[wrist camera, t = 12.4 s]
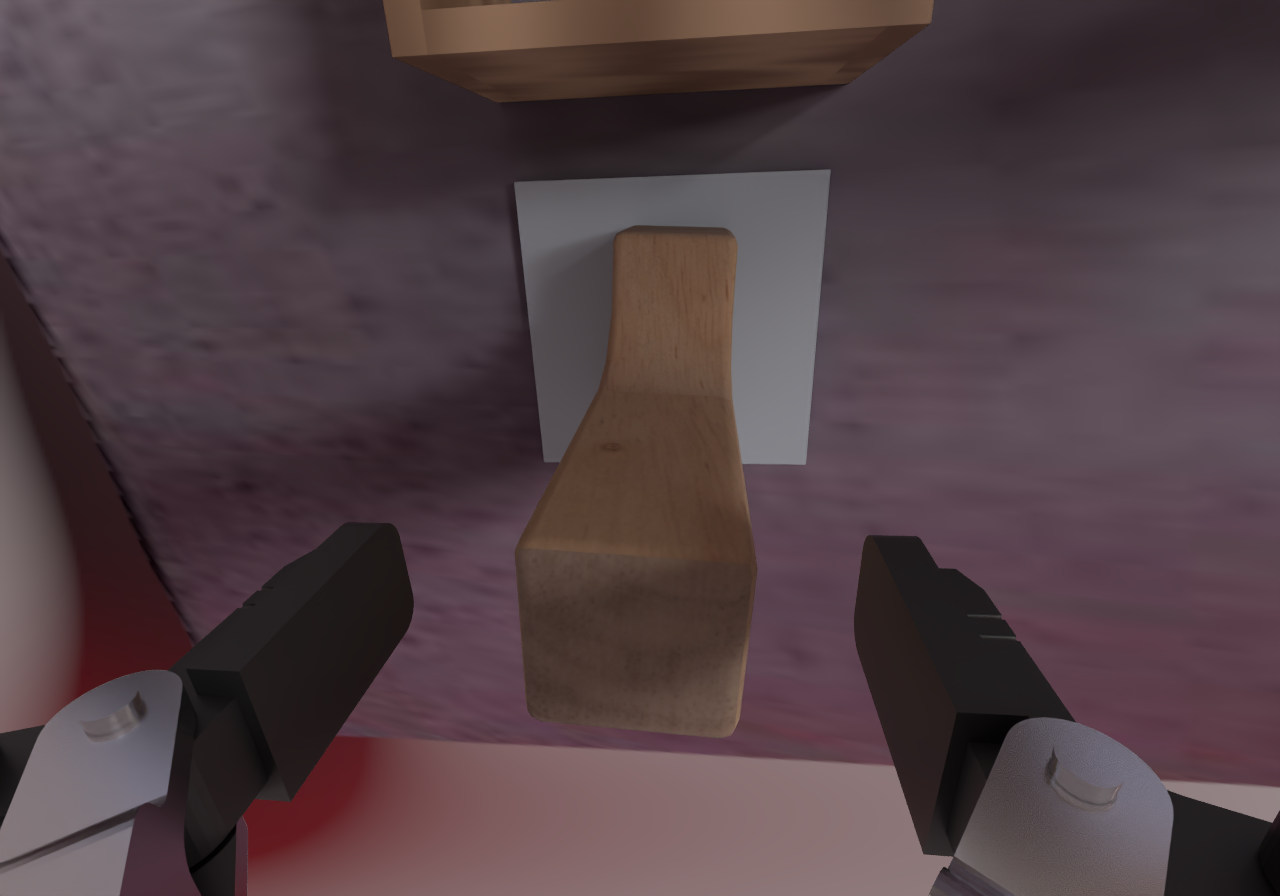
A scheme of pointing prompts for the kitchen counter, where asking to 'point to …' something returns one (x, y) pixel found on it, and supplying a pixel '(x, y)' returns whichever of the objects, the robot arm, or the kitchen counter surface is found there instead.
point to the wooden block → (648, 511)
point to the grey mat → (763, 299)
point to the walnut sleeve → (646, 43)
